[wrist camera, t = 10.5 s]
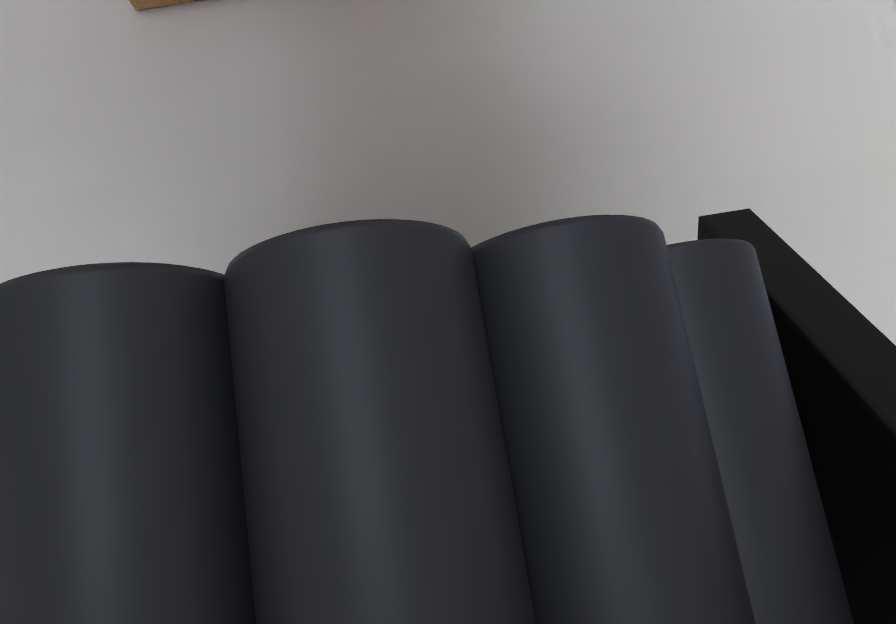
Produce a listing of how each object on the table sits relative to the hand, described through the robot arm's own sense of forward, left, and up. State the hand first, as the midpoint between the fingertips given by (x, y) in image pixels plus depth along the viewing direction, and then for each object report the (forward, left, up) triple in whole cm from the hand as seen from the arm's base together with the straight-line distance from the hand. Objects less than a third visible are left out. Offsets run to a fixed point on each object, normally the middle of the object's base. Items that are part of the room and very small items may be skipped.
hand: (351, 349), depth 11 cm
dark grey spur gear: (0, -3, -4) cm, 5 cm away
